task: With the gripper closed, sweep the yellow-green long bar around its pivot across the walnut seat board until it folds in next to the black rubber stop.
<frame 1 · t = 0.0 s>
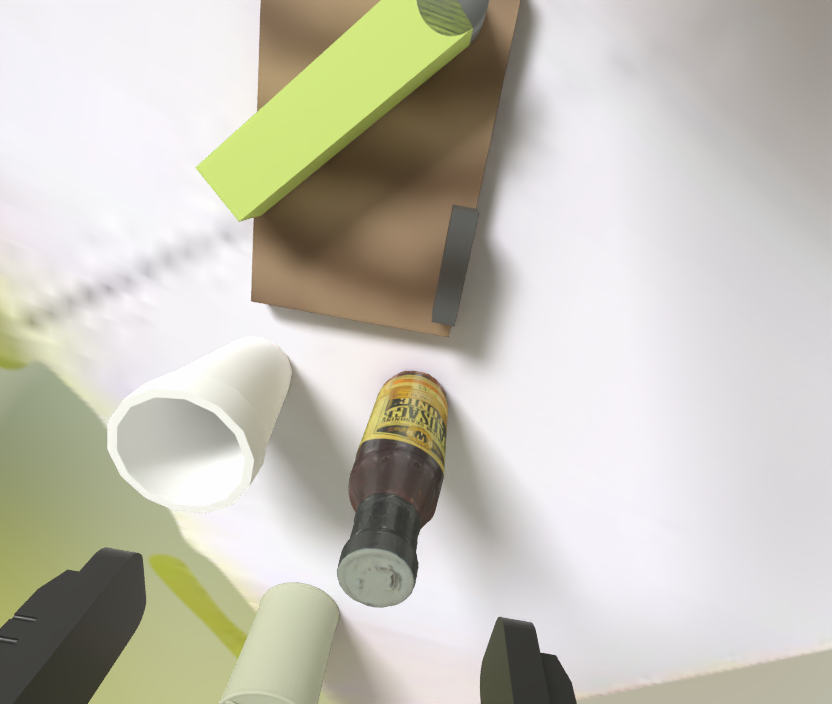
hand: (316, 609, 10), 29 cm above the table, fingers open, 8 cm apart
foam cup: (258, 368, 41), on the table
yellow-green long bar: (344, 95, 28), point 4 cm above the table, hinge at -45.0°
seat board: (373, 158, 34), on the table
can: (300, 609, 53), on the table
sauce bottle: (411, 395, 41), on the table
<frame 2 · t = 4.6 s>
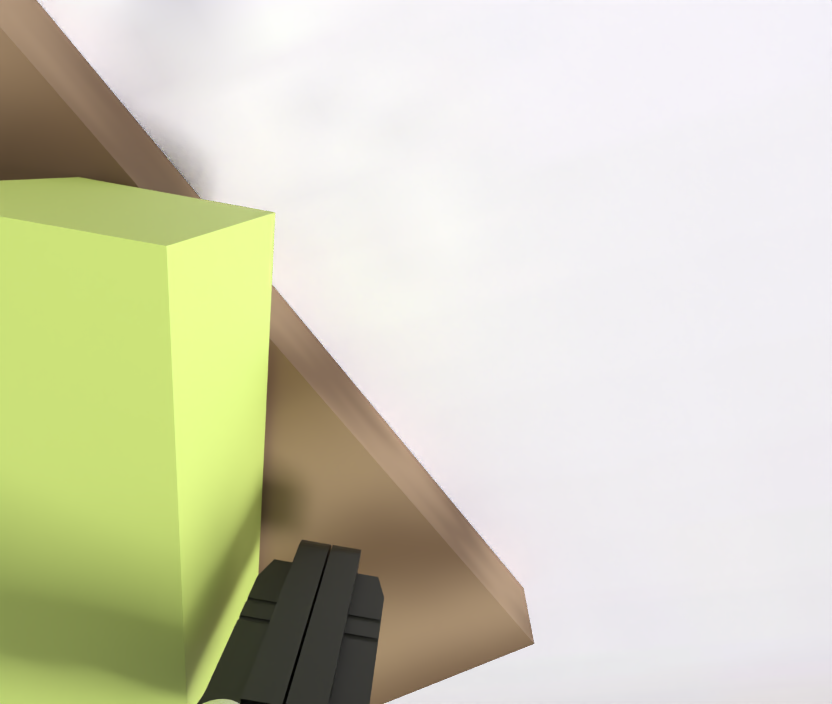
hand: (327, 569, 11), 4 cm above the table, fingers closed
yellow-green long bar: (148, 620, 11), point 4 cm above the table, hinge at -44.9°, touching gripper
seat board: (116, 454, 15), on the table
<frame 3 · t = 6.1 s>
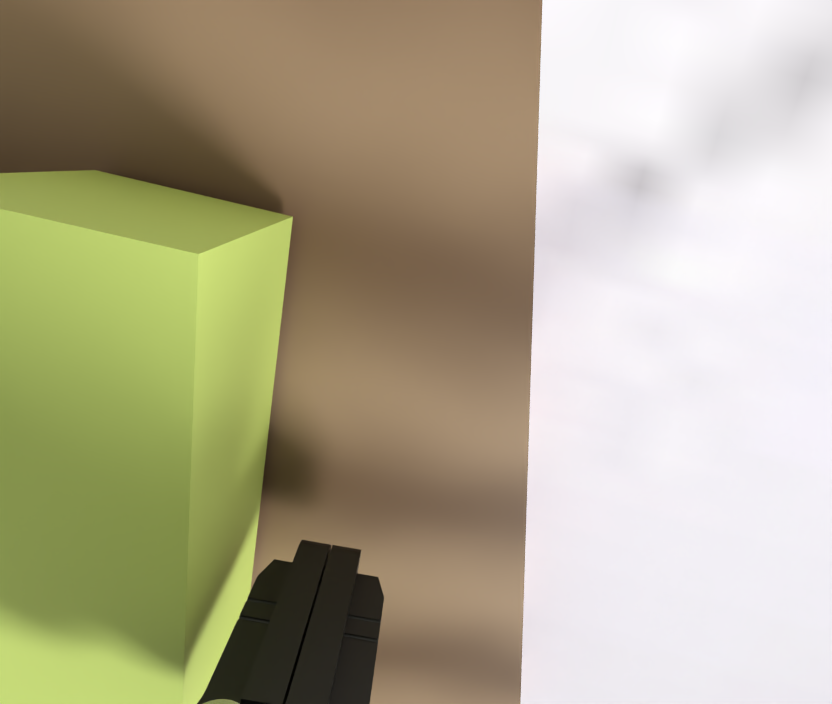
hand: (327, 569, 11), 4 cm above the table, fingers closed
yellow-green long bar: (142, 617, 11), point 4 cm above the table, hinge at -16.6°, touching gripper
seat board: (261, 463, 15), on the table
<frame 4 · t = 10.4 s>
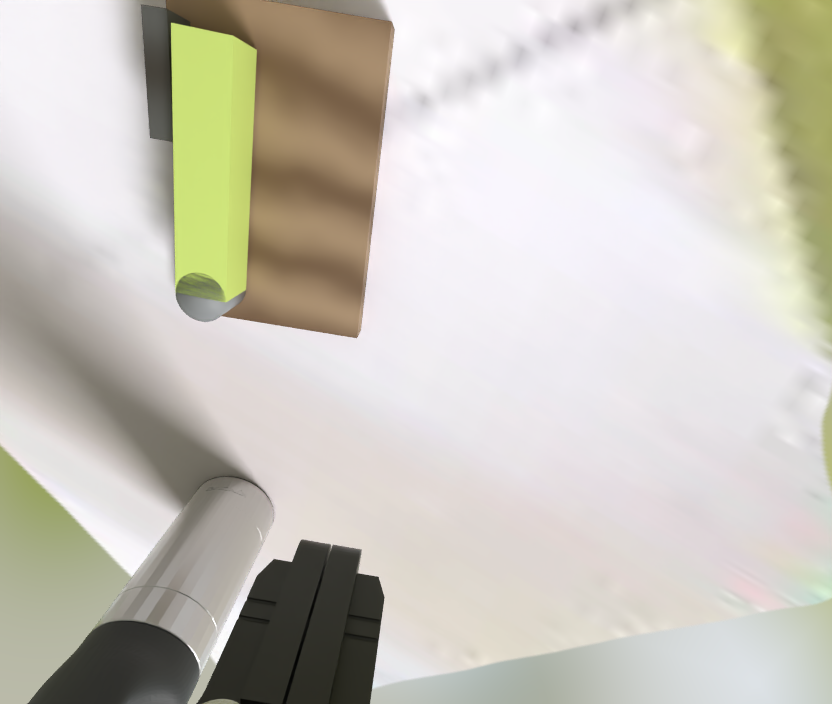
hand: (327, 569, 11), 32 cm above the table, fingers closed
yellow-green long bar: (214, 190, 35), point 4 cm above the table, hinge at -2.0°
seat board: (281, 182, 38), on the table
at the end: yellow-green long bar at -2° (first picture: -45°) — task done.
